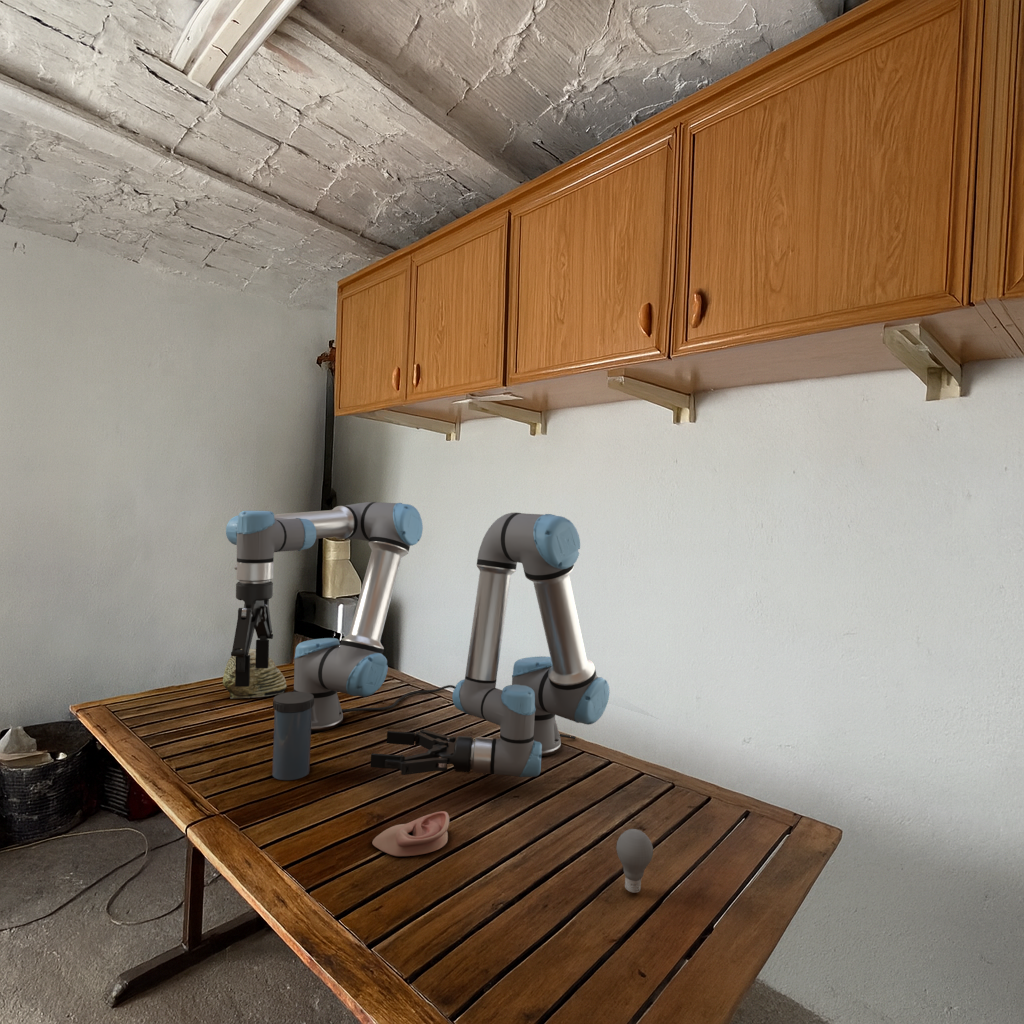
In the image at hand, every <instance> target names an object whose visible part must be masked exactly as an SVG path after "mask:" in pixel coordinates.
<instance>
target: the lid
mask: <svg viewBox="0 0 1024 1024" xmlns="http://www.w3.org/2000/svg"><path fill="white" fill-rule="evenodd" d="M313 705H314V696H313V695H312V694H311V693H307V692H294V691H288V692H283V693H280V694H276V695H274V697H273V700H272V708H273V710H274V711H275V710H276V711H280V712H300V711H305V710H308V709H310V708H312V707H313Z"/></svg>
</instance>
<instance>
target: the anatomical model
mask: <svg viewBox="0 0 1024 1024" xmlns="http://www.w3.org/2000/svg"><path fill="white" fill-rule="evenodd" d="M449 827H450V816H449V813H448V812H447V811H442V810H441V811H436V812H432V813H429V814H426V815H424V816H421V817H418V818H416V819H414V820H412V821H410V822H407V823H401V824H395V825H393V826H390V827H389V828H387V829H385V830H383V831H381V833H379V834H378V835H376V836H375V837H374V838H373V839H372V845H373V847H375V848H376V849H378V850H380V851H381V852H383V853H385V854H388V855H390V856H394V857H410V856H411V857H412V856H419V855H425V854H429V853H433V852H435V851H438V850H440V849H442V848H443V847H445V846H446V845H447V843H448V840H449V833H448V829H449Z"/></svg>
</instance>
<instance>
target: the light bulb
mask: <svg viewBox="0 0 1024 1024" xmlns="http://www.w3.org/2000/svg"><path fill="white" fill-rule="evenodd" d="M615 849H616V854H617V857H618V859H619V861H620V863H621V865H622V867H623V873H624V874H623V875H624V876H625V878H624V888H625V890H627V891H628V892H630V893H634V894H635V893H639V892H640V891H641V889H642V887H641V886H642V879H643V877H644V875H645V871H646V868H647V867H648V866H649V864H650V863H651V861H652V859H653V855H654V847H653V843H652V841H651V838H649V836H648V835H647V834H646V833H645V832H643V831H642V830H641V829H636V828H629V829H627V830H625V831H623V832H622V833H621V834H620V835H619V837H618V839H617V841H616V847H615Z"/></svg>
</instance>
